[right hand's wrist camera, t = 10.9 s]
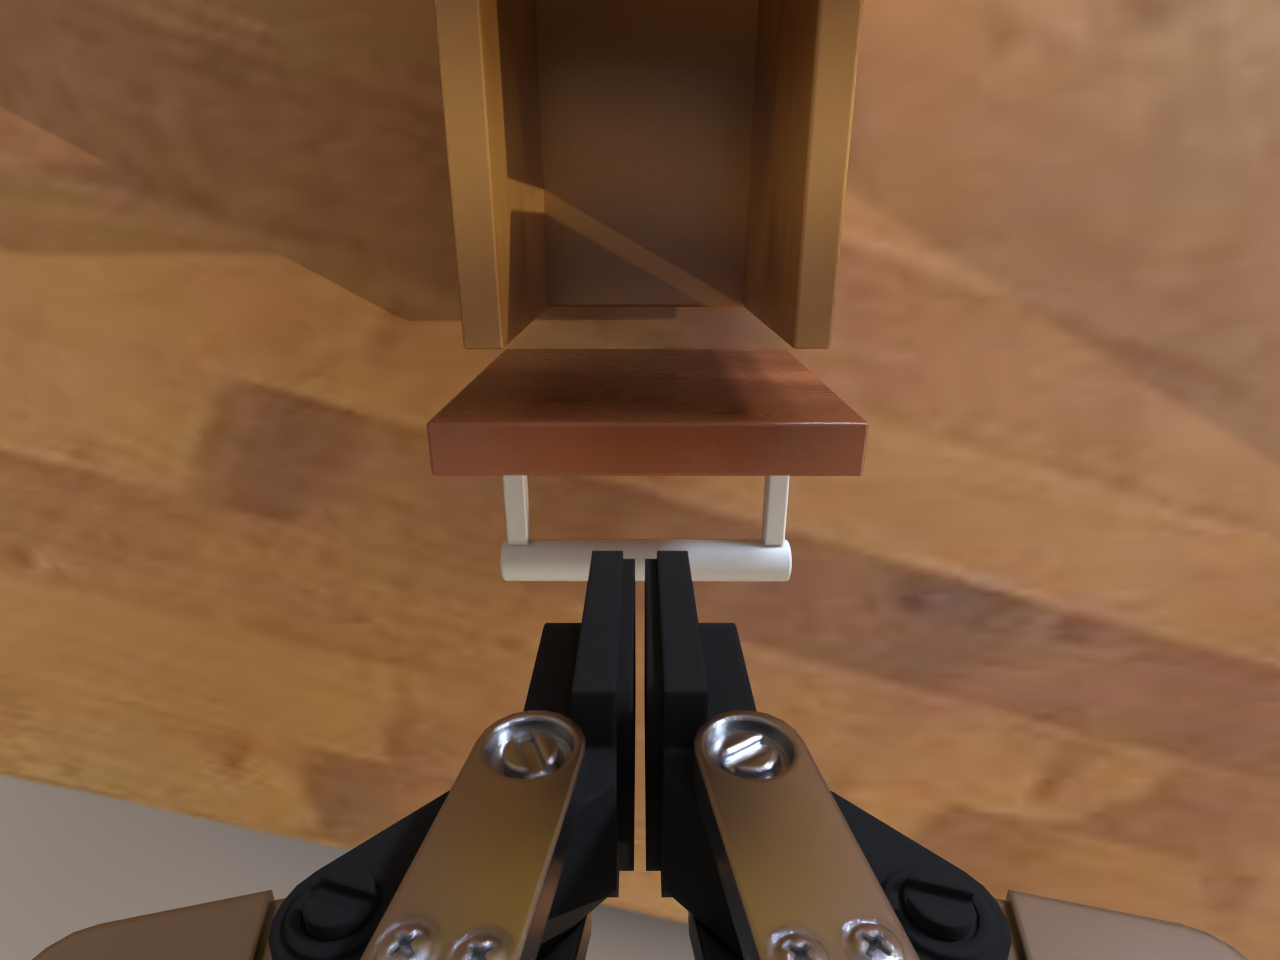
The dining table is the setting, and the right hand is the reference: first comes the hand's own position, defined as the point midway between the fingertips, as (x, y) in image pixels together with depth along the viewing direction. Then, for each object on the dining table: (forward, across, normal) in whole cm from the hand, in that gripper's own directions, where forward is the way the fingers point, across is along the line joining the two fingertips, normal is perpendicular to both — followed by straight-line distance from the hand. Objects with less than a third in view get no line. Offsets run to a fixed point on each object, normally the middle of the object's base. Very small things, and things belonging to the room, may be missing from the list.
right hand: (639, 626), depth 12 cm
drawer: (+12, 0, +7) cm, 14 cm away
